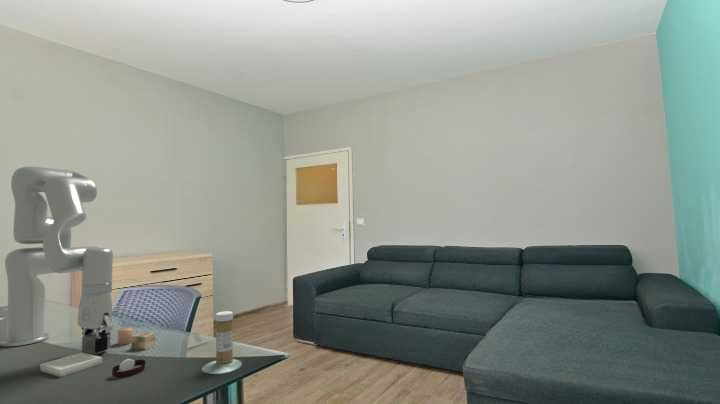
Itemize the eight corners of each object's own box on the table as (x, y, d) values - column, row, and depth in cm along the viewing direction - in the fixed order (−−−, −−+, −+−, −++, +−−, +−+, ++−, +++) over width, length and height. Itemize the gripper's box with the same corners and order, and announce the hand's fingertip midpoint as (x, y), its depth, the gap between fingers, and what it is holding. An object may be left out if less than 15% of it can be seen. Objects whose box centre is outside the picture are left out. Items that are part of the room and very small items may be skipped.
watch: (141, 367, 102) (141, 353, 102) (148, 371, 99) (148, 357, 99) (109, 376, 96) (109, 362, 96) (115, 381, 93) (115, 366, 93)
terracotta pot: (114, 344, 122) (114, 330, 123) (127, 340, 126) (128, 326, 127) (122, 345, 120) (122, 331, 121) (136, 341, 124) (136, 328, 125)
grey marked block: (109, 348, 116) (110, 331, 116) (98, 354, 111) (98, 337, 111) (93, 347, 116) (94, 331, 116) (81, 353, 111) (82, 336, 111)
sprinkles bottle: (231, 357, 107) (231, 309, 108) (234, 362, 103) (233, 313, 104) (214, 360, 105) (214, 311, 106) (216, 365, 101) (216, 315, 102)
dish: (40, 371, 100) (40, 364, 100) (81, 358, 109) (81, 352, 109) (60, 377, 96) (60, 370, 96) (101, 363, 105) (102, 357, 105)
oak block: (131, 349, 117) (131, 336, 117) (141, 345, 121) (141, 332, 121) (145, 350, 116) (145, 336, 116) (154, 345, 120) (154, 333, 120)
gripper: (67, 288, 114) (65, 348, 114) (100, 293, 107) (98, 358, 106) (94, 284, 121) (92, 341, 120) (126, 289, 113) (124, 350, 113)
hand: (94, 348), depth 113 cm, fingers closed on grey marked block, 5 cm apart
